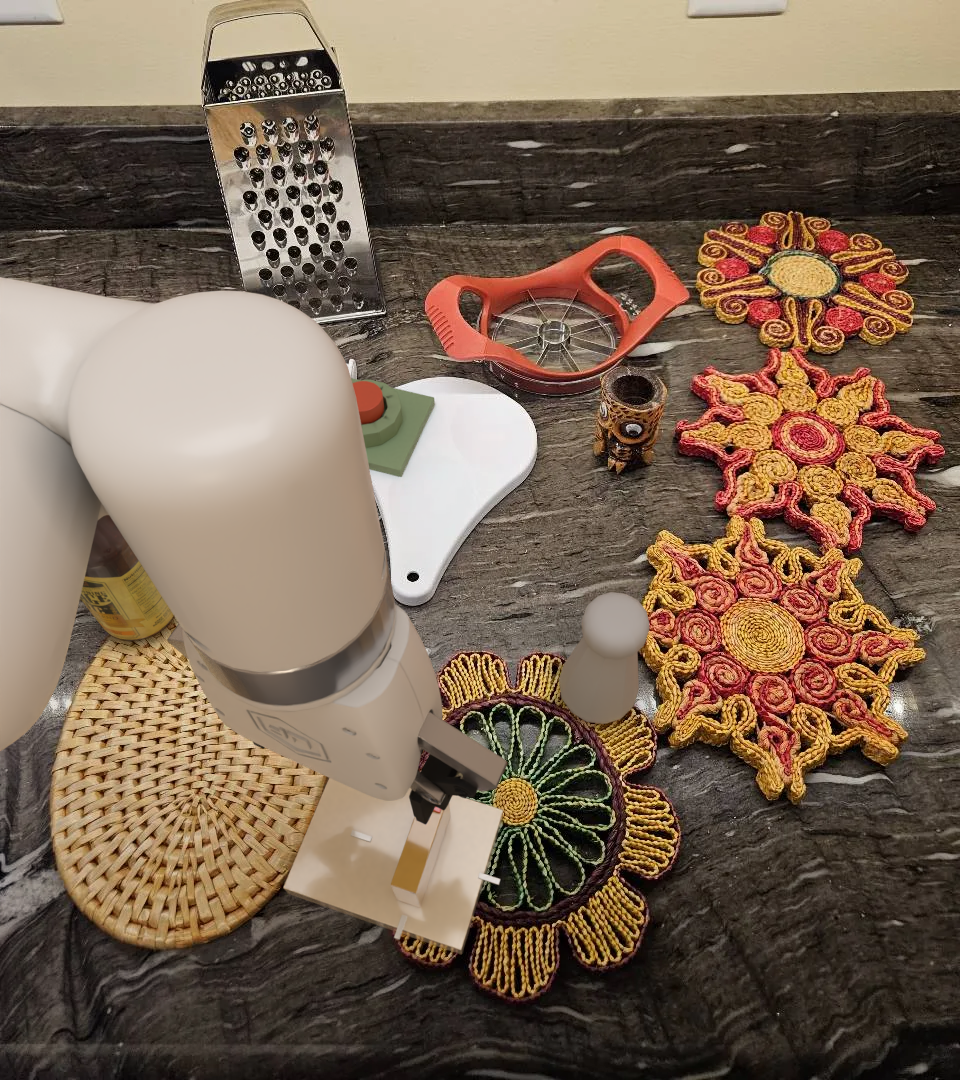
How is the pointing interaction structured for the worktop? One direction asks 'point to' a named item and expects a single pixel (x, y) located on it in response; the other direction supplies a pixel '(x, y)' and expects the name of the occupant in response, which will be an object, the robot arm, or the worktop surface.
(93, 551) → the sauce bottle
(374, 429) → the button block
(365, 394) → the button
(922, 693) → the worktop surface
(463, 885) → the block
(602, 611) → the salt shaker
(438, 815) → the tap handle
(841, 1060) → the worktop surface
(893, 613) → the worktop surface
